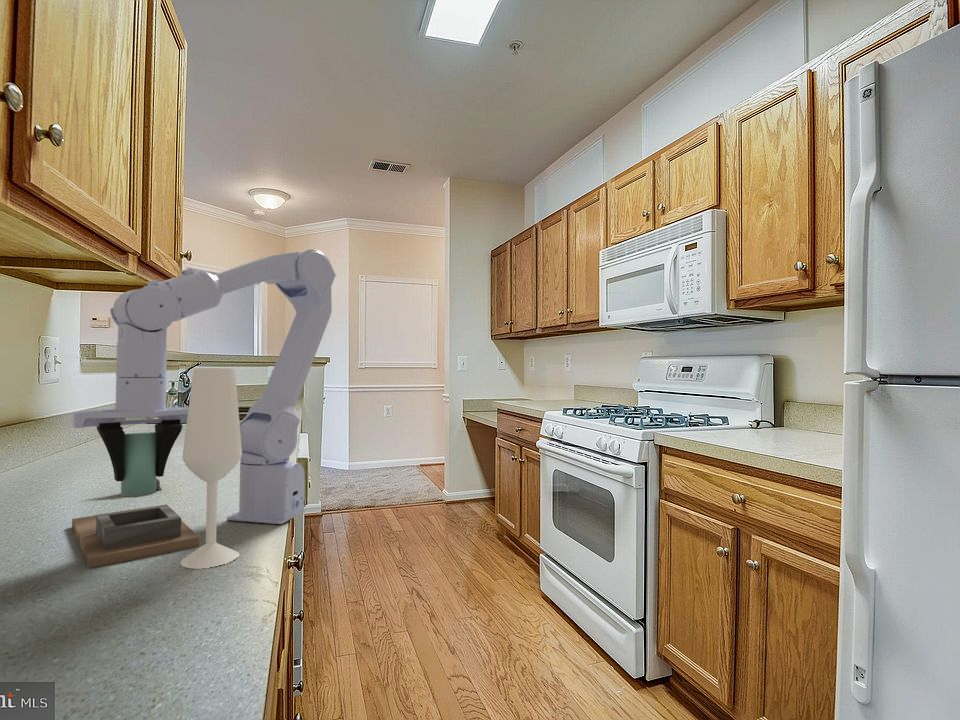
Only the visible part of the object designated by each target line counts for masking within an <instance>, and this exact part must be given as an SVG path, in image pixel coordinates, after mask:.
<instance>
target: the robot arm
mask: <svg viewBox="0 0 960 720" xmlns="http://www.w3.org/2000/svg"><path fill="white" fill-rule="evenodd" d="M180 274H181V275H178V276H175V277H172V278H168V279H165V280H162V281H158V280H157V279H154V280H150V281H147V283H146V284H147V285H145V286H143V287H141V288H138V289H133V290H131V289H130V290H126V291H125V292H123V293H121V294H120V295H118V298H116V299H115V301H114V303H113V307H112V308H110V311H109V312H110V316H111V319H112V320H113V322H114V323H115V325H116V326H117V342H116V364H115V365H116V368H115V369H116V371H115V372H116V373H115V377H116V378H115V409H102V410H101V409H100V410H99V409H98V410H83V411H82V410H81V411H79V410H78V411H72V428H74V429H80V428H81V429H83V428H89V427H90V428H91V427H96V430H97V432H98V434H99V436H100V438H101V439H102V441H103V444H104V446H105V448H106V450H107V453H108V455H109V459H110V461H111V464H112V465H111V466H112V469H113V470H112V471H113V476H114V480H115V481H116V482H121V481H123V477H124V470H123V445H124V435H125V434H126V433H125V431H124V430H123V429H124V428H123V426H125V425H143V424H144V425H145V424H155V425H154V432H156V433H157V455H156V478H158V477H160V478H161V477H164V476H165V475H164V473H165V469H166V466H167V462H168V458H169V456H170V454H171V451H172V448H173V447H174V445H175V443H176V440H177V439H178V437H179V435H180V434H181V432H182V430H183V424H182V422H187V417H188V409H189V406H188V407H187V406H186V407H185V406H183V407H181V406H179V407H178V406H177V407H173V406H171V407H166V404H167V403H166V400H167V399H166V397H167V359H168V357H167V356H168V355H167V352H168V350H167V348H168V346H167V344H168V343H167V339H168V338H167V333H168V332H167V331H168V328H169V327H170V326H171V325H172V323H173V322H178V321H180V320H183V319H185V318H189V317H191V316H194V315H196V314H199V313H202V312H204V311H208V310H210V309H211V310H212V309H214V308H215V307H216V308H217V306H219V305H220V303H221V301H222V298H223V295H225V294H229V293H232V292H236V291H238V290H242V289H244V288H247V287H251V286H254V285H257V284H261V283H263V282H264V283H265V284H267V285H275V286H276V288H277V289H279V291H280V292H281V293H282V294H283V295H284V296H285V298H286V299H287V300H288V302H290V303H291V304H292V306H293V309H294V310H295V316H294V318H293V321H292V322H291V323H292V324H291V325H290V329H289V331H288V333H287V336H286V338H285V340H284V342H283V344H282V347H281V350H280V353H279V355H278V358H277V360H276V362H275V363H274V364H275V365H274V366H273V367H274V368H273V370H272V372H271V375H270V377H269V379H268V381H267V384H266V387H265V389H264V391H263V394H262V396H261V397H260V398H259V400H257V401H256V402H255V403H254V404H253V405H251V406H250V407H249V409H248V412H247V413H246V415H245V417H244V418H243V419H242V420H241V421H239V423H240V435H241V448H242V455H241V458H240V460H239V497H238V498H239V501H238V505H239V506H238V507H239V508H238V511H237V512H234V513H232V514H230V515H228V516H226V521H235V522H247V523H248V522H249V523H259V524H260V523H261V524H262V523H263V524H273V525H283V524H284V523H287V522H288V521H290V520H292V519H294V518H296V517H297V516H298V515H301V514H302V513H304V512H306V511H307V507H305V483H306V482H305V480H306V477H305V474H306V473H305V469H304V466H303V465H302V464H301V463H299V462H295V461H292V460H290V456H291V455H292V454H293V452H295V450H296V447H297V445H298V444H297V443H298V427H299V425H300V422H301V418H300V417H299V413H298V412H297V409H296V406H297V403H298V400H299V397H300V395H301V393H302V391H303V388H304V386H305V382H306V380H307V377H308V375H309V373H310V370H311V368H312V365H313V362H314V359H315V357H316V354H317V352H318V349H319V346H320V344H321V341H322V338H323V336H324V334H325V331H326V328H327V326H328V323H329V320H330V319H331V315H332V310H333V309H332V308H333V307H332V305H333V304H332V287H333V286H332V285H333V283H334V280H335V278H336V276H337V275H336V273H335V270H334V268H333V266H332V264H331V261H330V260H329V258H328V256H327V255H326V254H325V253H324V252H322V251H321V250H318V249H315V248H310V249H307V250H306V249H305V251H301V252H299V251H294V252H288V253H280V254H274V255H270V256H265V257H260V258H258V259H255V260H252V261H249V262H247V263H244V264H241V265H238V266H235V267H233V268H229V269H227V270H224V271H220V272H218V273H216V274H212V273H210V272H209V271H206V270H203V269H197V270H195V269H194V268H193V267H191V268H187V269H183V270H181V271H180ZM143 418H146V419H143ZM147 418H149V419H147ZM127 419H128V420H127ZM129 419H130V420H129ZM122 425H123V426H122Z"/></svg>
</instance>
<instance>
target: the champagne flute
mask: <svg viewBox="0 0 960 720" xmlns="http://www.w3.org/2000/svg"><path fill="white" fill-rule="evenodd" d="M192 371H193V372H192V379H191V385H190V386H191V387H190V395H189V401H188V402H189V404H188V407H189V409H188V417H187V421H186V426H185V433H184V434H185V435H184V442H183V451H182V461H183V462H184V465H185V466H186V467H187V468H188V470H189V471H190V472H192V473H193V474H194V475H195V476H197V477H198V478H199V479H200V480H201V481H203V482H205V483H206V509H205V510H206V513H205V514H206V516H205V518H206V521H205V544H204V545H202V546H200V547H198V548H196V549H195V550H194V551H192V552H191V553H190V554H188V555H187V556H185V557H184V558H182V559H181V561H180V565H181V566H182V567H183V568H188V569H192V570H193V569H194V570H195V569H196V570H200V569H201V570H203V568H204V569H211V568H210V567H213V568H215V567H214V566H218V565H222V566H224V565H223V564H225V565H228V564H230V563H229V562H231V561H233V560H234V559H236V558H237V557H238V558H240V553H239V552H238V551H237V550H234V549H232V548H230V547H227V546H225V545H222V544H220V543H219V542H217V514H218V513H217V511H218V482H219V481H220V480H222V479H224V478H225V477H226V476H227V475H228V474H229V473H230V472H231V471H232V470H234V468H235V467H236V465H237V464H238V463H240V458H241V455H242V448H241V435H240V413H239V401H238V399H239V398H238V388H237V373H236V369H235V368H221V367H220V368H214V367H212V368H211V367H210V368H209V367H208V368H205V367H204V368H203V367H202V368H201V367H199V368H197V367H194V368H193V370H192ZM238 558H237V559H238ZM237 559H236V560H237ZM233 562H234V561H233ZM227 563H228V564H227ZM231 563H232V562H231ZM218 567H219V566H218Z"/></svg>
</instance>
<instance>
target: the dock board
mask: <svg viewBox="0 0 960 720" xmlns="http://www.w3.org/2000/svg"><path fill="white" fill-rule="evenodd" d="M71 528H72V531H73V533H74V536H75V538H76V540H77V543H78V545H79V548H80V550H81V553H82V555H83V558H84V560H85V562H86V566H87V568H88V569H90V568H98V567H100V566H106V565H110V564H115V563H116V564H117V563H120V562H121V563H122V562H125V561H130V560H131V561H132V560H137V559H141V558H145V557H146V558H147V557H151V556H156V555H161V554H166V553H171V552H176V551H181V550H185V549H190V548H194V547H199V546H200V536H199V535H197V534H196V533H195V532H194V530H192V529H191V528H190V527H189V526H188V525H187V524H186V523H185V522H184V521H183V520H182V517H181V516H180V515H179V514H178V513H177V512H176V511H175V510H173V509H172V508H171V507H170V506H169V505H168V504H162V505H155V506H148V507H141V508H134V509H126V510H119V511H113V512H106V513H101V514H100V513H99V514H96V515H89V516H82V517H75V518H72V521H71Z"/></svg>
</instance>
